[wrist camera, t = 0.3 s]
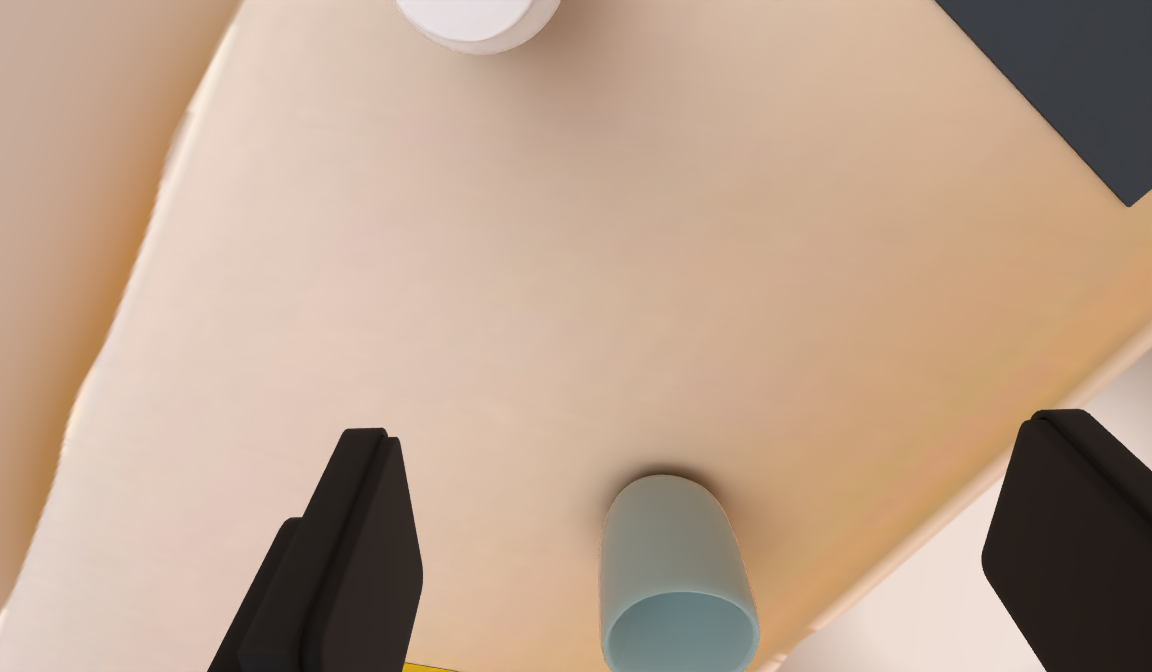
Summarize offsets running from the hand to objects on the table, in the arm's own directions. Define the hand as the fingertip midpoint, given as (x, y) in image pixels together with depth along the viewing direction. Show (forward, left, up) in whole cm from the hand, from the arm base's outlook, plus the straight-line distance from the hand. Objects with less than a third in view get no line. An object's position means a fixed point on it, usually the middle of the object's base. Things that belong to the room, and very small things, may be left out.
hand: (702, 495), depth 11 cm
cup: (+16, +17, -26) cm, 34 cm away
